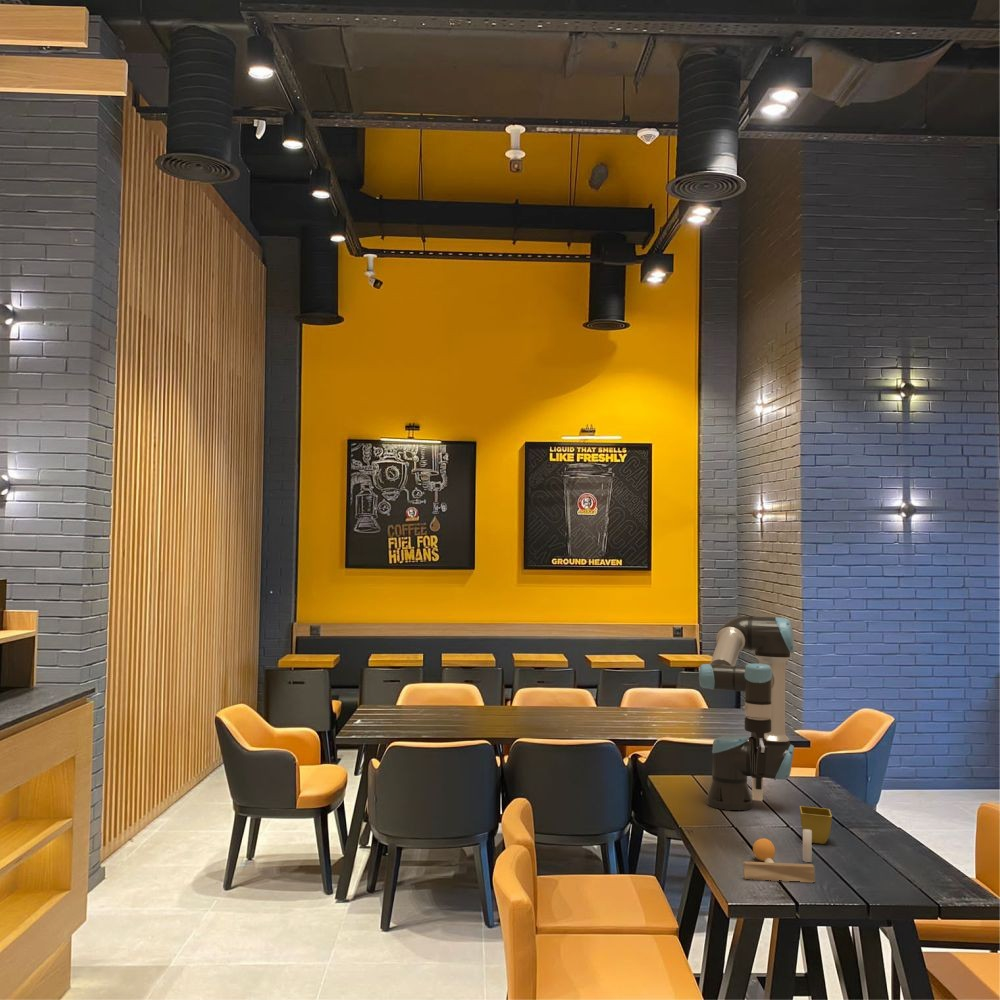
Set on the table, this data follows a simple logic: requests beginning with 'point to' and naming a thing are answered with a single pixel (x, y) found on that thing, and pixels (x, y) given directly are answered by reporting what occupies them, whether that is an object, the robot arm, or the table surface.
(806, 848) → the beige tapered peg
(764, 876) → the back wall
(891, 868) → the table surface
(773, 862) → the cream pin
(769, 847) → the ball
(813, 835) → the flower pot
